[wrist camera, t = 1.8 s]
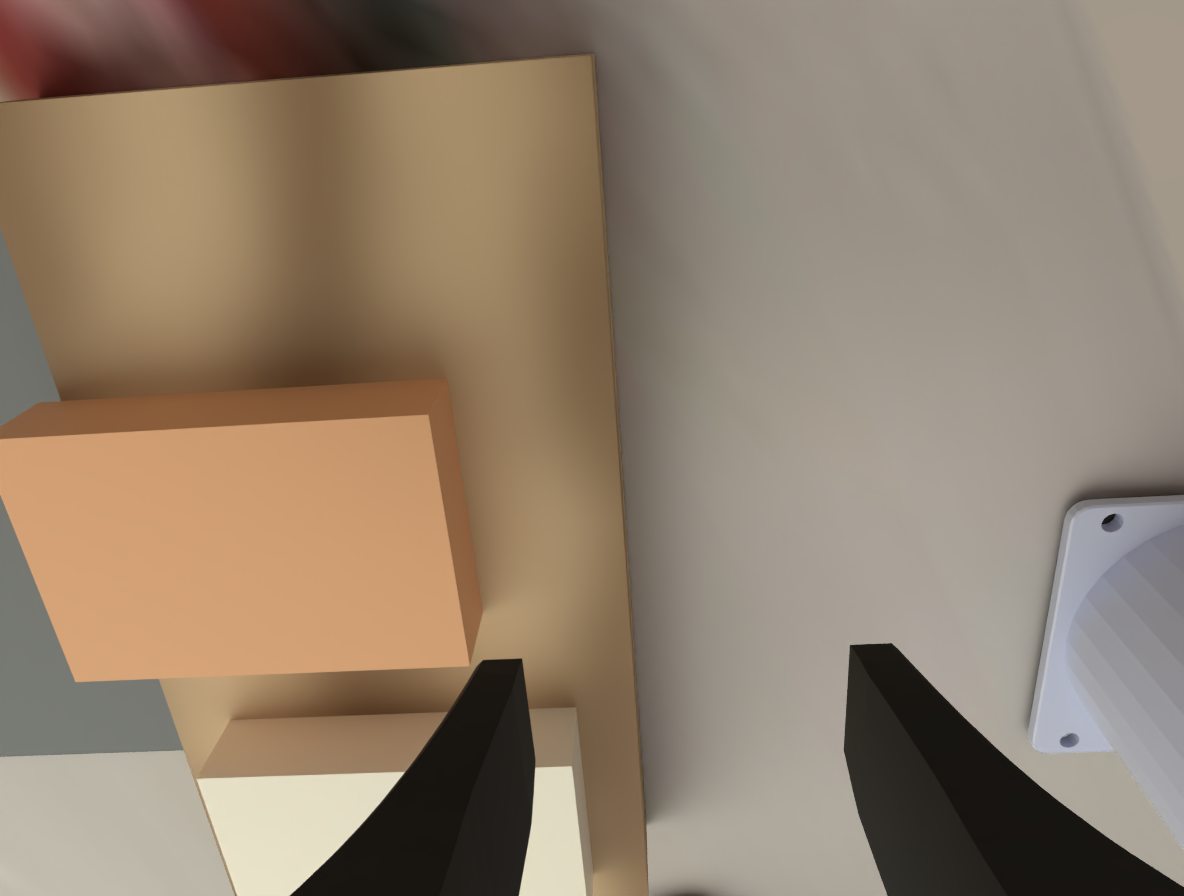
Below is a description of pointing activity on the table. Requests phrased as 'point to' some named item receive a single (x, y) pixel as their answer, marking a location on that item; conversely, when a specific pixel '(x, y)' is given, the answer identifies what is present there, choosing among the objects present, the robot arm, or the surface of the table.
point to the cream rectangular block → (370, 795)
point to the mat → (19, 617)
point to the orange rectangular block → (247, 530)
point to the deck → (371, 340)
